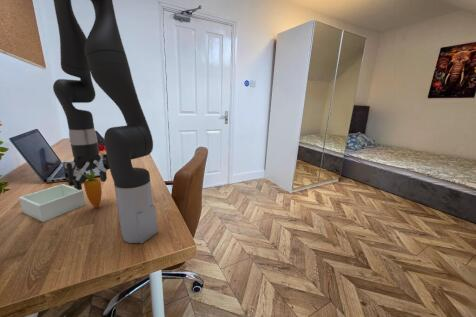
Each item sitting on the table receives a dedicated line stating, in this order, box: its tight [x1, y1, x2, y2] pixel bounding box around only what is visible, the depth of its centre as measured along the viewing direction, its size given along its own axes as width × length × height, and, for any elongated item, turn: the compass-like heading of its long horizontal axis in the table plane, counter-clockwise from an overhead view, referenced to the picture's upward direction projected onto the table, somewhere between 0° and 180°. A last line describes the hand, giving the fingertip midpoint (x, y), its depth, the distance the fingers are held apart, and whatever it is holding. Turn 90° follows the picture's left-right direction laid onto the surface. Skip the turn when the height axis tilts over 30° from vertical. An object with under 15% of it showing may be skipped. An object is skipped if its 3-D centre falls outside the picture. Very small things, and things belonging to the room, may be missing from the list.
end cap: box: [66, 165, 88, 187], centre depth 102 cm, size 10×7×7 cm
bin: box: [18, 183, 86, 223], centre depth 77 cm, size 13×13×6 cm
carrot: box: [82, 169, 103, 209], centre depth 77 cm, size 5×5×15 cm
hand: (92, 185), depth 77 cm, fingers open, 8 cm apart
